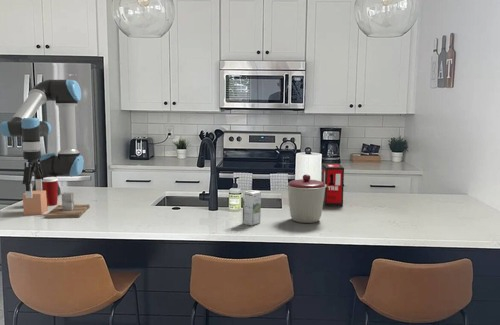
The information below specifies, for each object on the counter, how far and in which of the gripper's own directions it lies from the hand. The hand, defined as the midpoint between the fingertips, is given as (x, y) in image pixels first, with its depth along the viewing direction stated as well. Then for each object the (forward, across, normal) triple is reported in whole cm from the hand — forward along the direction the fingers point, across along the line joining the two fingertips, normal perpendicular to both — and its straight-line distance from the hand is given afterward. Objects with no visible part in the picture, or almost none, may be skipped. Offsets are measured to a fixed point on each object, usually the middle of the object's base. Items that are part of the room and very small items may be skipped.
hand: (34, 195), depth 218 cm
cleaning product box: (+8, -8, +148) cm, 149 cm away
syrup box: (+9, +28, +101) cm, 105 cm away
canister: (+9, +26, +126) cm, 129 cm away
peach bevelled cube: (+9, 0, 0) cm, 9 cm away
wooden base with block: (+9, 0, +16) cm, 18 cm away
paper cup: (+9, -18, +2) cm, 20 cm away
